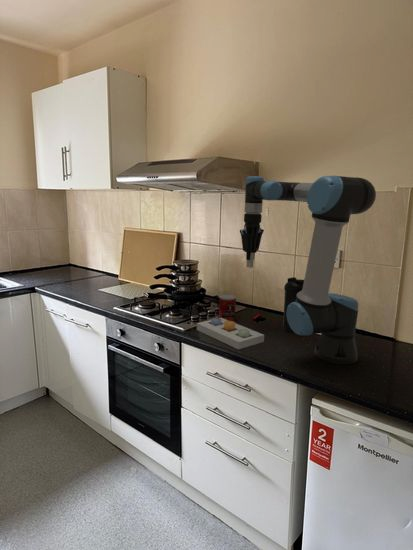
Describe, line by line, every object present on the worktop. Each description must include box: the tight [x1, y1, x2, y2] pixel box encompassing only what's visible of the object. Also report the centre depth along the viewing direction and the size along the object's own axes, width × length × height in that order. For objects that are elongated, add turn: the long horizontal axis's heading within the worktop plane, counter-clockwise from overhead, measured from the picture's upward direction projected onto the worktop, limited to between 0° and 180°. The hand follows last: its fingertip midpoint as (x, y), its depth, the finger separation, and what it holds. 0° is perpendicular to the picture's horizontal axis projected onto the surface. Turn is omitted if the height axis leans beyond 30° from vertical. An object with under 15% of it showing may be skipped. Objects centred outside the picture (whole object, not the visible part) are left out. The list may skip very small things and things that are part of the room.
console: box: [196, 317, 265, 350], centre depth 161 cm, size 26×14×3 cm, turn 39°
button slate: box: [210, 317, 221, 326], centre depth 167 cm, size 4×4×4 cm
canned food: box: [218, 294, 237, 321], centre depth 182 cm, size 8×8×11 cm
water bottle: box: [282, 276, 304, 334], centre depth 170 cm, size 10×10×23 cm
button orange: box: [224, 320, 236, 332], centre depth 161 cm, size 4×4×4 cm
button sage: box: [238, 329, 250, 338], centre depth 155 cm, size 4×4×4 cm
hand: (249, 267), depth 172 cm, fingers closed
